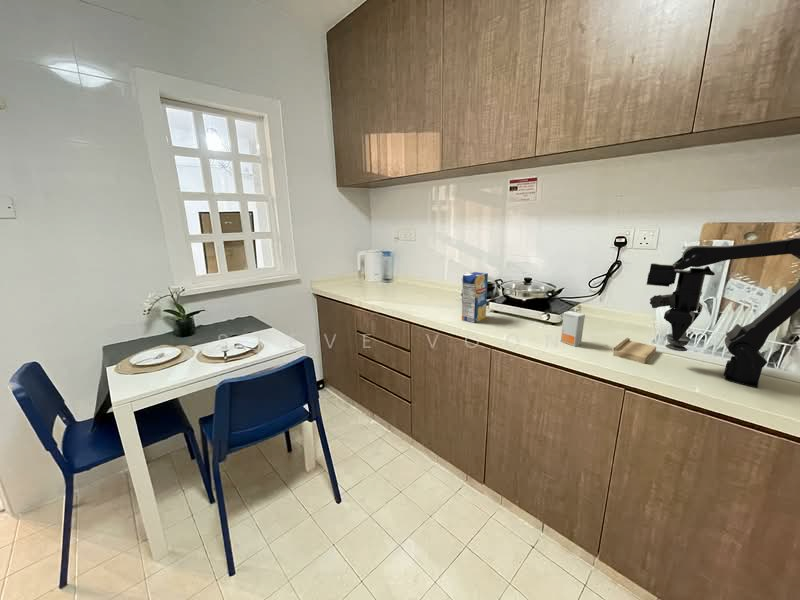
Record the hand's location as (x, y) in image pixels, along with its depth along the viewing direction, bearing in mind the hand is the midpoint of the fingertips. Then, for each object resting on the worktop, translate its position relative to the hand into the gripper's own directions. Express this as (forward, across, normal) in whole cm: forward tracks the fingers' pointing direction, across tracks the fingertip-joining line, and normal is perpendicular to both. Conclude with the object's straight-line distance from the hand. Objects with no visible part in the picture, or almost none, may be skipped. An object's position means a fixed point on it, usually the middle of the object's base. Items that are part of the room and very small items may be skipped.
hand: (678, 337), depth 99 cm
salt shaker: (+4, 0, 0) cm, 4 cm away
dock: (+10, -3, -11) cm, 15 cm away
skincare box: (+10, +3, -30) cm, 32 cm away
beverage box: (+10, +5, -74) cm, 75 cm away
